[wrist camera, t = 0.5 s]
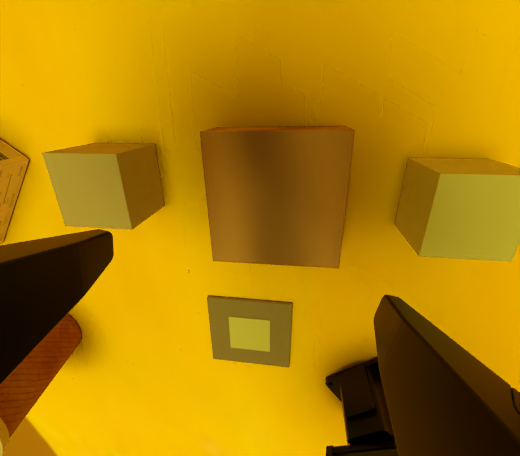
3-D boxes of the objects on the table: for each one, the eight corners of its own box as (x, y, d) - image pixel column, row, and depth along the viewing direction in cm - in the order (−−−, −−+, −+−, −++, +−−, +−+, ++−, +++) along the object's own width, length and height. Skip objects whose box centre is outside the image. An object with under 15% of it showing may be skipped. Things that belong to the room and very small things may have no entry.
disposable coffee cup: (18, 278, 29) (-152, 382, 18) (102, 317, 30) (-13, 440, 19) (13, 336, 33) (-128, 449, 22) (88, 369, 34) (-15, 495, 23)
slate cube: (155, 143, 21) (115, 154, 17) (165, 205, 23) (132, 229, 19) (95, 142, 22) (42, 152, 17) (110, 202, 24) (65, 226, 19)
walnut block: (344, 125, 19) (354, 130, 15) (333, 242, 23) (338, 268, 19) (218, 127, 20) (199, 131, 17) (226, 237, 24) (213, 261, 20)
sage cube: (487, 158, 18) (547, 176, 14) (465, 227, 20) (511, 261, 16) (408, 157, 19) (440, 173, 15) (394, 223, 21) (419, 256, 17)
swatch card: (292, 302, 25) (292, 305, 25) (289, 364, 29) (289, 368, 28) (208, 295, 26) (206, 298, 26) (214, 356, 30) (213, 359, 29)
